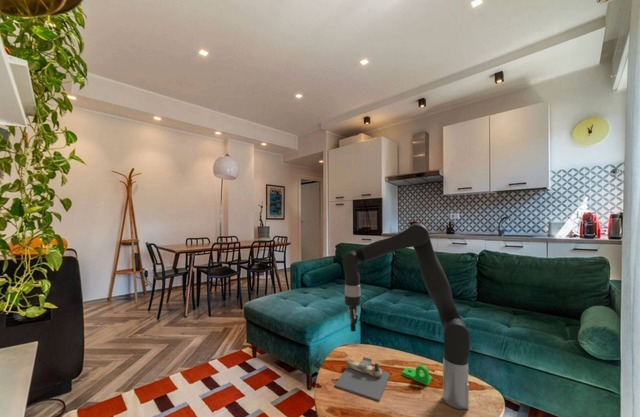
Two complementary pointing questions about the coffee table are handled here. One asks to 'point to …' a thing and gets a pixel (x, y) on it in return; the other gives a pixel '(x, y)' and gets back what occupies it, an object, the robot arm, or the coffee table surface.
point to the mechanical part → (418, 374)
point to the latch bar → (370, 370)
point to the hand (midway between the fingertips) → (353, 330)
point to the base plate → (363, 383)
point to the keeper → (365, 363)
